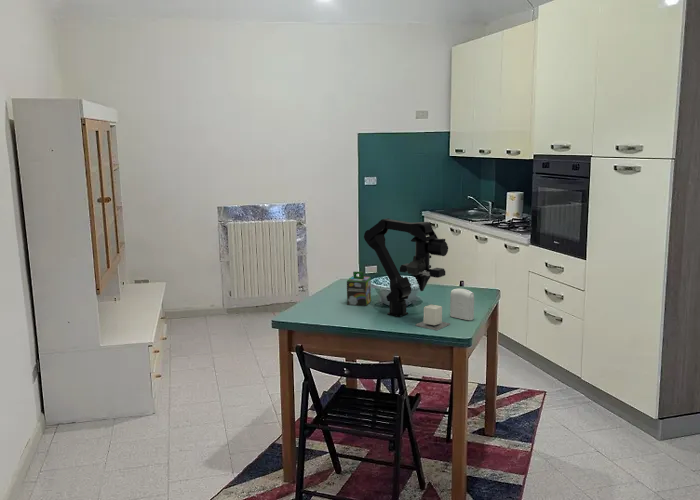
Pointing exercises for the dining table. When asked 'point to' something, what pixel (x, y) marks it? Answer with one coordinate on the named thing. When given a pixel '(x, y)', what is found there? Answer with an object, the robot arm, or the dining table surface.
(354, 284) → the chalk box
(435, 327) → the post
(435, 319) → the cream rectangular block
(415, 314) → the dining table surface
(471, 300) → the photo printer
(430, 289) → the dining table surface
